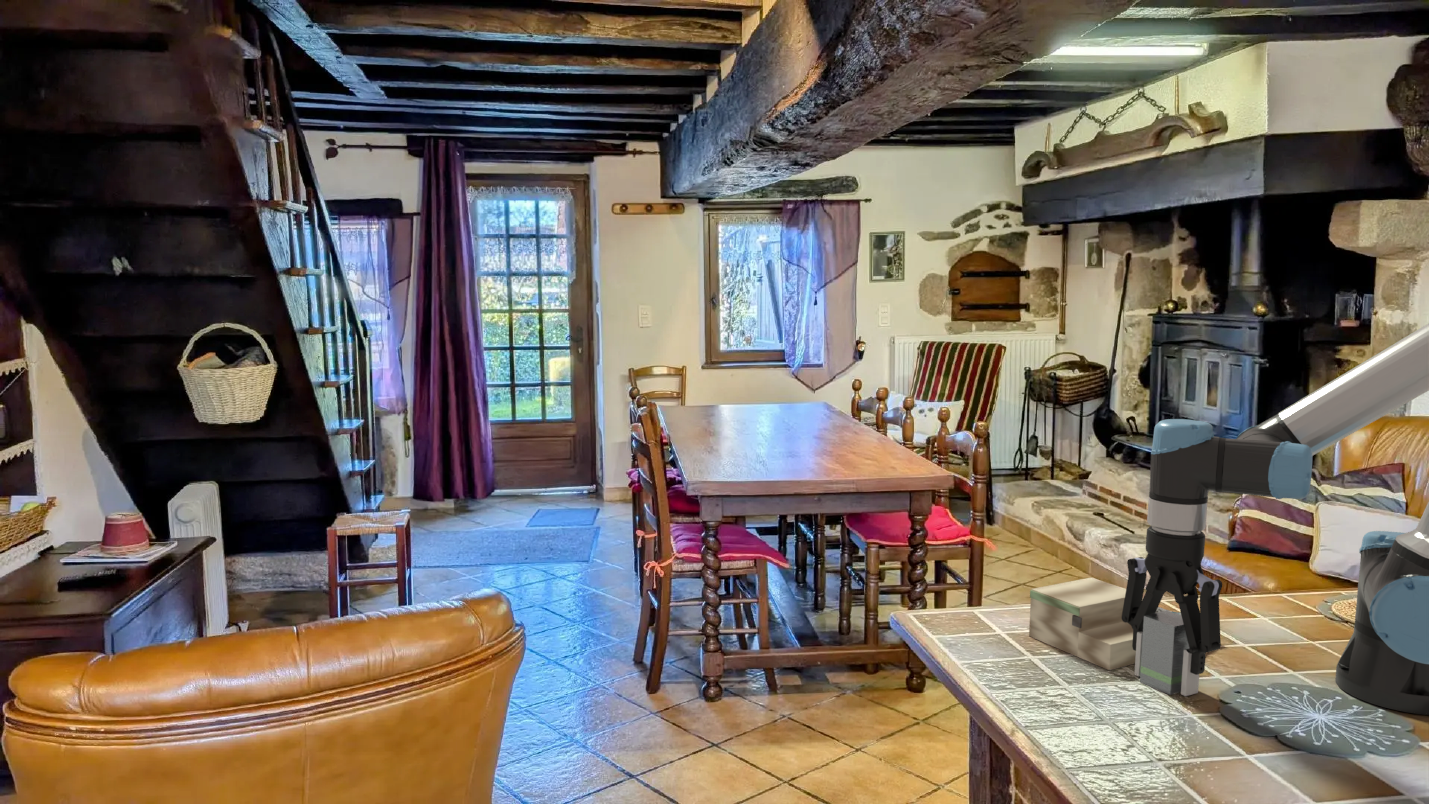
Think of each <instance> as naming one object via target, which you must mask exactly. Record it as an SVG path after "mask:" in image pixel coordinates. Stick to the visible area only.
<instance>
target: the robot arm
mask: <svg viewBox="0 0 1429 804" xmlns="http://www.w3.org/2000/svg"><path fill="white" fill-rule="evenodd" d="M1428 392H1429V322H1428V323H1427V324H1425V325H1423V326H1421V327H1420V328H1418V329H1416V330H1415V331H1413V332H1412V333H1410V334H1409V335H1406V336H1405V337H1403V338H1402V339H1400V340H1398V341H1396V342H1395V343H1394V344H1391V345H1390V346H1388V347H1387V348H1385V349H1383V350H1382V351H1380V352H1379V353H1376V354H1375V355H1373V356H1371V357H1370V358H1368V359H1367V360H1364V361H1363V362H1362V363H1360V364H1357V365H1356V366H1355V367H1353V368H1351V369H1349V370H1348V371H1346V372H1345V373H1343V374H1341V375H1340V376H1338V377H1337V378H1334V379H1332V380H1331V381H1330V382H1328V383H1326V384H1325V385H1323V386H1321V387H1320V388H1318V389H1316V390H1315V391H1313V392H1311V393H1309V394H1308V395H1306V396H1304V397H1302V398H1300V399H1299V400H1298V401H1296V402H1295V403H1293V404H1291V405H1289V406H1288V407H1286V408H1285V409H1283V410H1281V411H1280V412H1278V413H1277V414H1275V415H1273V416H1271V417H1270V418H1268V419H1266V420H1265V421H1263V422H1261V423H1259V424H1257V425H1254V426H1250V427H1247V428H1246V429H1245V430H1243V431H1241V432H1240V433H1239V434H1238V435H1237V437H1236V438H1226V437H1220V436H1215V433H1214V430H1213V429H1214V428H1213V425H1212V424H1211V423H1209V422H1207V421H1203V420H1194V419H1188V418H1187V419H1185V418H1170V419H1169V418H1168V419H1163V420H1160V421H1159V422H1158V423H1156V424H1155V426H1154V427H1153V428H1154V429H1153V437H1152V445H1151V451H1150V472H1149V473H1150V474H1149V493H1148V506H1147V517H1146V520H1147V521H1146V523H1147V524H1148V525H1149V526H1148V527H1147V529H1146V536H1145V538H1146V540H1145V552H1146V553H1147V555H1146V557H1145V558H1144V557H1142V556H1138V557H1133V558H1129V559H1127V561H1126V562H1127V563H1126V564H1127V571H1128V576H1127V582H1126V588H1125V589H1126V594H1125V599H1124V605H1123V611H1122V621H1123V622H1125V623H1126V622H1127V623H1129V624H1130V625H1131V626H1132V629H1133V643H1132V647H1133V650H1135V651H1136V657H1135V664H1134V676H1137V677H1140V672H1141V656H1142V639H1143V622H1144V616H1146V615H1150V614H1154V613H1155V612H1156V610H1157V608H1158V607H1160V604H1161V601H1162V599H1163V597H1164V594H1165V593H1169V594H1170V595H1172V596H1173V597H1174V601H1175V603H1177V604H1178V606H1179V612H1181V616H1182V620H1183V624H1184V628H1185V632H1186V636H1187V640H1188V644H1189V649H1186V650H1184V655H1183V669H1182V684H1181V692H1180V695H1182V696H1184V697H1189V696H1191V695H1195V694H1198V693H1199V684H1200V683H1199V682H1200V675H1201V674H1203V673H1204V672H1205V669H1206V655H1207V653H1210V652H1214V651H1218V650H1220V649H1221V647H1222V642H1221V623H1220V622H1221V618H1220V615H1221V614H1220V594H1221V590H1222V587H1223V582H1222V580H1220V579H1218V578H1217V579H1214V580H1213V579H1212V578H1211V577H1208V576H1207V575H1204V571H1203V568H1202V562H1203V558H1204V556H1205V546H1206V534H1205V533H1204V532H1203V531H1204V530H1205V529H1206V527H1207V514H1208V501H1209V491H1211V492H1217V493H1218V492H1219V493H1230V494H1240V495H1249V496H1259V497H1267V498H1275V499H1276V500H1282V499H1292V500H1302V499H1305V498H1307V497H1308V496H1309V494H1310V490H1311V482H1312V472H1313V456H1314V455H1316V454H1318V453H1320V452H1322V451H1324V450H1326V449H1327V448H1330V447H1331V446H1333V445H1334V444H1336V443H1338V442H1339V441H1342V440H1343V439H1345V438H1347V437H1349V436H1350V435H1352V434H1354V433H1356V432H1357V431H1359V430H1361V429H1363V428H1365V427H1366V426H1369V425H1370V424H1371V423H1374V422H1375V421H1377V420H1379V419H1381V418H1383V417H1385V416H1386V415H1387V414H1389V413H1391V412H1393V411H1395V410H1396V409H1398V408H1400V407H1402V406H1404V405H1405V404H1408V403H1409V402H1411V401H1413V400H1414V399H1417V398H1418V397H1419V396H1422V395H1424V394H1425V393H1428ZM1359 554H1360V559H1359V560H1360V561H1359V571H1358V581H1357V583H1358V584H1357V595H1356V604H1355V605H1356V606H1355V617H1354V628H1353V633H1352V635H1351V637H1350V638H1349V640H1348V642H1347V645H1346V647H1345V648H1344V650H1343V652H1342V654H1341V656H1340V657H1339V660H1338V662H1337V664H1336V667H1335V677H1334V678H1335V680H1334V681H1335V684H1336V685H1337V686H1338V687H1339V688H1340V689H1341V690H1342V691H1344V692H1345V693H1347V694H1349V695H1350V696H1352V697H1354V698H1356V699H1358V700H1361V701H1364V702H1366V703H1370V704H1372V705H1375V706H1379V707H1381V708H1387V709H1390V710H1395V711H1398V712H1401V713H1402V712H1403V713H1408V714H1409V713H1410V714H1415V715H1416V714H1417V715H1424V716H1429V501H1428V502H1427V504H1426V506H1425V508H1424V510H1423V513H1422V516H1421V517H1420V520H1419V522H1418V523H1417V525H1416V528H1415V529H1413V530H1411V531H1408V532H1400V531H1399V532H1398V531H1389V530H1388V531H1385V530H1382V531H1381V530H1374V531H1368V532H1366V533H1365V534H1364V535H1363V537H1362V541H1361V546H1360V548H1359ZM1147 572H1148V575H1149V580H1148V582H1147V584H1146V581H1147ZM1197 585H1199V587H1198V589H1197ZM1145 590H1146V591H1145ZM1144 591H1145V594H1144ZM1198 591H1199V592H1200V595H1199V594H1198ZM1198 600H1199V603H1198Z"/></svg>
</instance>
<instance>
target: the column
mask: <svg viewBox="0 0 1429 804" xmlns="http://www.w3.org/2000/svg"><path fill="white" fill-rule="evenodd" d="M1186 649H1189V644H1188V640H1187V636H1186V632H1185V628H1184V624H1183V620H1182V616H1181V615H1178V614H1175V613H1172V612H1169V611H1163V612H1159V613H1154V614H1150V615H1146V616H1144V622H1143V639H1142V656H1141V672H1140V676H1139V683H1140V684H1143V685H1144V686H1145V685H1146V686H1148V687H1151V688H1153V689H1156V690H1158V691H1159V692H1161V693H1165V694H1167V695H1169V696H1171V695H1175V694H1179V693H1181V684H1182V669H1183V655H1184V650H1186Z"/></svg>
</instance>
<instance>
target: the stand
mask: <svg viewBox="0 0 1429 804" xmlns="http://www.w3.org/2000/svg"><path fill="white" fill-rule="evenodd" d="M1125 594H1126V588H1125V587H1121V586H1118V585H1115V584H1112V583H1110V582H1107V581H1105V580H1104V581H1103V580H1099V578H1098V579H1097V578H1094V577H1092V576H1091V577H1087V578H1080V579H1077V580H1076V579H1075V580H1071V581H1065V582H1060V583H1055V584H1049V585H1044V586H1040V587H1035V588H1034V587H1033V588H1031V589H1030V591H1029V598H1030V606H1029V607H1030V609H1029V628H1028V629H1029V630H1028V636H1029V637H1030V638H1032V639H1035V640H1037V641H1040V642H1043V643H1045V644H1047V645H1049V646H1052V647H1054V648H1057V649H1058V650H1061V651H1063V652H1065V653H1068V654H1069V655H1072V656H1075V657H1077V658H1080V659H1082V660H1084V661H1087V662H1089V663H1091V664H1093V665H1096V666H1098V667H1100V668H1102V669H1105V670H1107V671H1111V670H1115V669H1119V668H1123V667H1127V666H1131V665H1135V657H1136V651H1135V650H1133V647H1132V643H1133V629H1132V626H1131V625H1130V624H1129V623H1127V622H1126V623H1125V622H1123V621H1122V611H1123V605H1124V599H1125Z"/></svg>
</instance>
